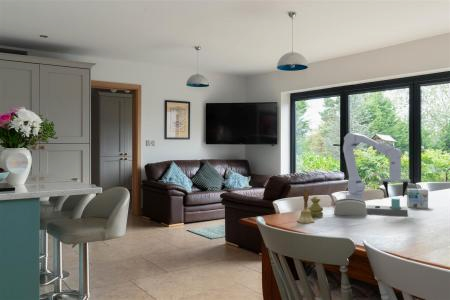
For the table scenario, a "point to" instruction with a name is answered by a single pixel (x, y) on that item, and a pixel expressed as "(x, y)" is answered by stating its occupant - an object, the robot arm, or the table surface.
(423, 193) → the light bulb box
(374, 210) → the bore plate
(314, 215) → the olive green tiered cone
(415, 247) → the table surface
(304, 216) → the hand bell
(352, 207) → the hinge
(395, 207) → the square peg
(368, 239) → the table surface
